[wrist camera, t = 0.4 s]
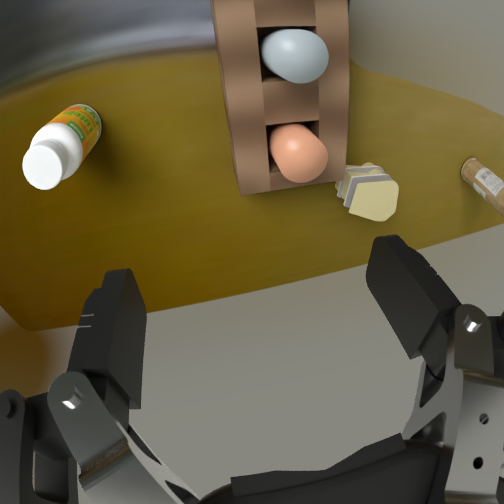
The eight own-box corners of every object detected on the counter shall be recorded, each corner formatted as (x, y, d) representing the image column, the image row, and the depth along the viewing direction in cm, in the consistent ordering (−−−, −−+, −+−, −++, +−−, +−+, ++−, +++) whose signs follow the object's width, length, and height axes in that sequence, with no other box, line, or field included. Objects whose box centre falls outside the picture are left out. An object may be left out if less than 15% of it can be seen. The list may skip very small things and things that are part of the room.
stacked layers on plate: (315, 206, 38) (330, 232, 34) (329, 143, 32) (350, 164, 28) (377, 206, 40) (395, 230, 36) (395, 151, 34) (419, 171, 30)
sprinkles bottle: (458, 182, 38) (509, 234, 29) (461, 158, 35) (519, 210, 26) (474, 176, 38) (525, 226, 28) (478, 154, 35) (534, 202, 25)
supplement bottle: (111, 115, 25) (79, 153, 18) (90, 157, 27) (59, 206, 20) (69, 95, 22) (24, 127, 15) (51, 138, 24) (10, 182, 17)
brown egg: (264, 121, 26) (277, 140, 22) (308, 116, 26) (328, 134, 22) (267, 161, 29) (280, 186, 25) (309, 155, 29) (327, 179, 25)
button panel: (202, -61, 14) (203, -78, 10) (317, -62, 14) (338, -74, 11) (234, 172, 32) (240, 196, 29) (326, 159, 33) (344, 180, 29)
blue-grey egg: (255, 30, 19) (268, 30, 16) (305, 28, 20) (327, 30, 16) (260, 75, 22) (273, 85, 19) (307, 72, 23) (329, 82, 19)
